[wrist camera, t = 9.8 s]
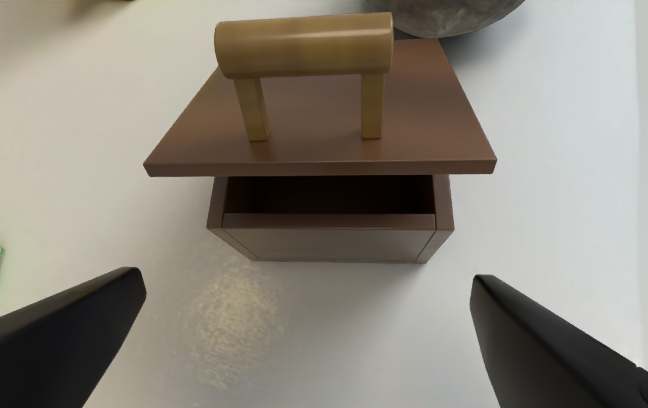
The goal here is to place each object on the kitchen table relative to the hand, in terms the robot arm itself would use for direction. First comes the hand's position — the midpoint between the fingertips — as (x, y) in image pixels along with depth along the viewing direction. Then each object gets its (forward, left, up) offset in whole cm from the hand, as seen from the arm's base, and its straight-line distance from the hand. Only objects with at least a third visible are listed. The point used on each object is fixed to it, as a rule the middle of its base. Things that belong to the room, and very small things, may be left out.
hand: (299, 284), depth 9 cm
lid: (+8, +4, -3) cm, 9 cm away
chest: (+8, +4, -13) cm, 16 cm away
